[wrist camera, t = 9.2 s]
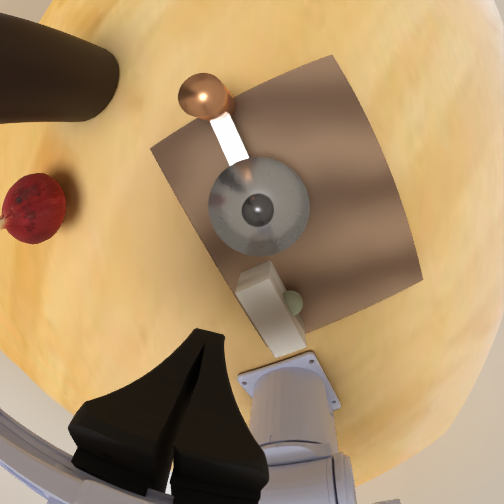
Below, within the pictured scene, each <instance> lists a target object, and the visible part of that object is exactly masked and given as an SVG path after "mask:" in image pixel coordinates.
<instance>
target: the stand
mask: <svg viewBox="0 0 504 504" xmlns="http://www.w3.org/2000/svg"><path fill="white" fill-rule="evenodd" d="M234 98H235V101H236V109H235V112H234V114H233V115H232V118H233V120H234V122H235V124H236V126H237V129H238V131H239V133H240V135H241V138H242V140H243V142H244V144H245V146H246V149H247V151H248V153H249V155H250V157H258V156H263V157H270V158H274V159H277V160H279V161H281V162H283V163H285V164H287V165H288V166H289V167H290V168H292V169H293V170H294V171H295V173H296V174H297V175H298V176H299V177H300V179H301V180H302V182H303V183H304V186H305V188H306V190H307V193H308V196H309V202H310V212H309V218H308V222H307V225H306V227H305V229H304V231H303V233H302V235H301V236H300V237H299V239H298V240H297V241H296V242H295V243H294V244H293V245H291V246H290V247H289V248H287V249H285V250H284V251H282V252H279V253H277V254H273V255H269V256H251V255H246V254H243V253H240V252H238V251H236V250H234V249H232V248H231V247H229V246H228V245H227V244H225V243H224V242H223V241H222V240H221V239H220V237H219V236H218V235H217V233H216V232H215V230H214V228H213V226H212V224H211V221H210V217H209V211H208V201H209V195H210V192H211V189H212V186H213V184H214V182H215V181H216V179H217V178H218V176H219V175H220V174H221V173H222V172H223V171H224V170H225V169H226V168H228V167H229V166H230V164H229V162H228V160H227V158H226V155H225V153H224V151H223V149H222V147H221V144H220V142H219V140H218V138H217V135H216V133H215V131H214V129H213V127H212V124H211V122H208V121H206V120H203V119H200V118H197V119H195V120H193V121H192V122H190V123H188V124H187V125H185V126H184V127H182V128H180V129H179V130H177V131H176V132H174V133H172V134H171V135H169V136H168V137H166V138H165V139H163V140H162V141H160V142H159V143H157V144H156V145H154V146H153V147H152V148H150V150H151V151H152V153H153V155H154V157H155V159H156V161H157V162H158V164H159V166H160V168H161V170H162V172H163V173H164V175H165V177H166V179H167V181H168V183H169V184H170V186H171V188H172V190H173V191H174V193H175V195H176V197H177V199H178V200H179V202H180V204H181V206H182V207H183V209H184V211H185V213H186V214H187V216H188V218H189V220H190V221H191V223H192V225H193V227H194V228H195V230H196V232H197V233H198V235H199V237H200V239H201V240H202V242H203V244H204V245H205V247H206V249H207V251H208V252H209V254H210V256H211V257H212V259H213V261H214V262H215V264H216V266H217V267H218V269H219V271H220V272H221V274H222V276H223V277H224V279H225V281H226V282H227V284H228V285H229V287H230V289H231V290H232V292H233V294H234V295H235V297H236V298H237V300H238V302H239V303H240V305H241V307H242V308H243V310H244V311H245V313H246V315H247V316H248V318H249V319H250V321H251V323H252V324H253V326H254V327H255V329H256V330H257V332H258V334H259V335H260V337H261V338H262V340H263V341H264V343H265V344H266V346H267V348H268V347H269V348H270V350H271V352H272V353H273V355H274V356H275V358H278V357H281V356H284V355H287V354H289V353H292V352H295V351H298V350H300V349H303V348H306V347H307V345H306V336H305V333H308V332H311V331H313V330H316V329H318V328H321V327H323V326H325V325H328V324H330V323H333V322H335V321H337V320H340V319H342V318H345V317H347V316H349V315H351V314H354V313H356V312H358V311H360V310H363V309H365V308H367V307H369V306H371V305H374V304H376V303H378V302H380V301H382V300H384V299H386V298H388V297H390V296H392V295H394V294H396V293H398V292H401V291H402V290H404V289H406V288H408V287H410V286H412V285H414V284H416V283H418V282H420V281H422V280H423V277H422V273H421V268H420V264H419V260H418V256H417V252H416V248H415V245H414V241H413V237H412V234H411V231H410V227H409V224H408V221H407V217H406V214H405V211H404V208H403V205H402V202H401V199H400V196H399V193H398V191H397V188H396V185H395V182H394V180H393V177H392V174H391V172H390V169H389V167H388V164H387V162H386V159H385V157H384V154H383V152H382V150H381V147H380V145H379V143H378V140H377V138H376V136H375V134H374V132H373V129H372V127H371V125H370V123H369V121H368V119H367V117H366V115H365V113H364V111H363V109H362V107H361V105H360V103H359V101H358V99H357V97H356V95H355V93H354V91H353V90H352V88H351V86H350V84H349V82H348V81H347V79H346V77H345V75H344V74H343V72H342V70H341V68H340V67H339V65H338V63H337V62H336V60H335V58H334V57H333V55H329V56H327V57H324V58H321V59H319V60H316V61H313V62H311V63H308V64H306V65H303V66H301V67H298V68H296V69H293V70H291V71H289V72H286V73H284V74H282V75H280V76H277V77H275V78H273V79H271V80H268V81H266V82H264V83H262V84H260V85H258V86H256V87H254V88H252V89H250V90H248V91H246V92H244V93H242V94H240V95H238V96H236V97H234Z"/></svg>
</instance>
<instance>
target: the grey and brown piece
mask: <svg viewBox="0 0 504 504" xmlns="http://www.w3.org/2000/svg"><path fill="white" fill-rule="evenodd" d="M178 101H179V104H180V106H181V108H182V109H183V110H184V111H185V112H186V113H187V114H189V115H192V116H194V117H197V118H200V119H203V120H206V121H208V122H211V124H212V127H213V129H214V131H215V133H216V135H217V138H218V140H219V142H220V144H221V147H222V149H223V151H224V153H225V155H226V158H227V160H228V162H229V164H230V166H229V167H228V168H226V169H225V170H224V171H223V172H222V173H221V174H220V175H219V176H218V178H217V179H216V181H215V182H214V184H213V186H212V189H211V192H210V195H209V201H208V211H209V217H210V221H211V224H212V226H213V228H214V230H215V232H216V233H217V235H218V236H219V237H220V239H221V240H222V241H223V242H224V243H225V244H227V245H228V246H229V247H231V248H232V249H234V250H236V251H238V252H240V253H243V254H246V255H251V256H269V255H273V254H277V253H279V252H282V251H284V250H285V249H287V248H289V247H290V246H291V245H293V244H294V243H295V242H296V241H297V240H298V239H299V237H300V236H301V235H302V233H303V231H304V229H305V227H306V225H307V222H308V218H309V212H310V202H309V196H308V193H307V190H306V188H305V186H304V183H303V182H302V180H301V179H300V177H299V176H298V175H297V174H296V173H295V171H294V170H293V169H292V168H290V167H289V166H288V165H287V164H285V163H283V162H281V161H279V160H277V159H274V158H270V157H263V156H258V157H250V155H249V153H248V151H247V149H246V146H245V144H244V142H243V140H242V138H241V135H240V133H239V131H238V129H237V126H236V124H235V122H234V120H233V118H232V115H233V114H234V112H235V109H236V101H235V98H234V96H233V95H232V94H231V92H230V91H229V90H228V89H227V88H226V87H225V86H224V84H223V83H222V82H221V81H220V80H219V79H218V78H217V77H215V76H214V75H211V74H208V73H199V74H195V75H193V76H191V77H189V78H188V79H187V80H185V81H184V83H183V84H182V85H181V87H180V90H179V93H178Z"/></svg>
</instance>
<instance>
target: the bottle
mask: <svg viewBox="0 0 504 504" xmlns="http://www.w3.org/2000/svg"><path fill="white" fill-rule="evenodd" d="M117 79H118V67H117V63H116V61H115V59H114V57H113V55H112V54H111V53H110V52H108V51H107V50H106V49H104V48H101V47H99V46H97V45H94V44H92V43H90V42H87V41H85V40H82V39H80V38H77V37H75V36H72V35H70V34H67V33H64V32H62V31H59V30H56V29H53V28H50V27H47V26H44V25H41V24H38V23H35V22H32V21H29V20H25V19H22V18H18V17H14V16H11V15H7V14H3V13H0V124H4V123H21V122H81V121H86V120H88V119H90V118H92V117H94V116H96V115H97V114H98V113H99V112H100V111H101V110H103V109H104V107H105V106H106V104H107V103H108V102H109V100H110V99H111V97H112V95H113V92H114V90H115V88H116V84H117Z"/></svg>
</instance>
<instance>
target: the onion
mask: <svg viewBox="0 0 504 504" xmlns="http://www.w3.org/2000/svg"><path fill="white" fill-rule="evenodd" d="M65 213H66V199H65V195H64V191H63V189H62V188H61V186H60V184H59V183H58V181H57V180H55V179H53V178H51V177H50V176H48V175H46V174H44V173H36V174H30V175H27V176H24V177H22V178H21V179H19V180H18V181H17V182H16V183H15V184H14V185H13V186H12V187H11V188H10V189H9V191H8V193H7V195H6V197H5V200H4V203H3V207H2V215H1V216H0V229H4V228H5V229H7V231H8V232H9V233H10V234H11V235H12V236H13V237H14V238H16V239H17V240H19V241H21V242H25V243H29V244H38V243H41V242H43V241H45V240H47V239H49V238H51V237H52V236H53V235H54V234H55V233H56V232H57V230H58V229H59V228H60V226H61V224H62V222H63V220H64V217H65Z"/></svg>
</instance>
